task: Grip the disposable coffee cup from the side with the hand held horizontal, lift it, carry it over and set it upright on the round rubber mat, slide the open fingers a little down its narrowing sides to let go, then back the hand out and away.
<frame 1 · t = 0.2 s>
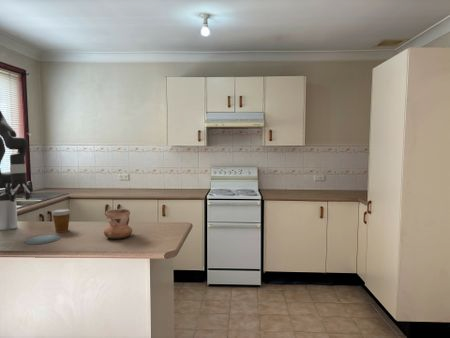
hand: (20, 200, 185), 18 cm above the table, tool pointing down, fingers open, 8 cm apart
mat: (42, 239, 169), on the table
ceramic jug: (119, 237, 175), on the table
disposable coffee cup: (62, 231, 187), on the table
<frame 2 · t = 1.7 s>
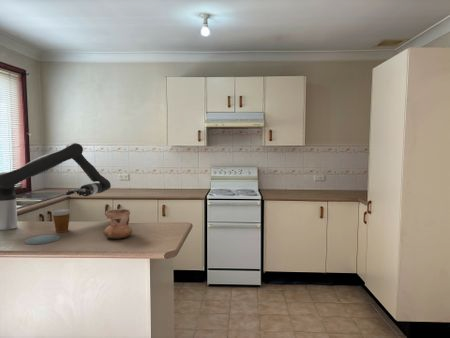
hand: (73, 193, 196), 20 cm above the table, tool horizontal, fingers open, 8 cm apart
nothing on the table moved.
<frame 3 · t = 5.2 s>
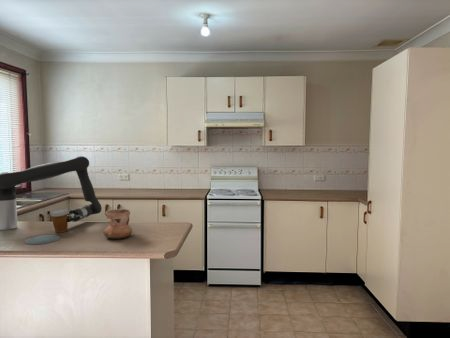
hand: (60, 220, 185), 6 cm above the table, tool horizontal, fingers closed on disposable coffee cup, 8 cm apart
disposable coffee cup: (61, 230, 186), on the table, touching gripper
everything else where it was.
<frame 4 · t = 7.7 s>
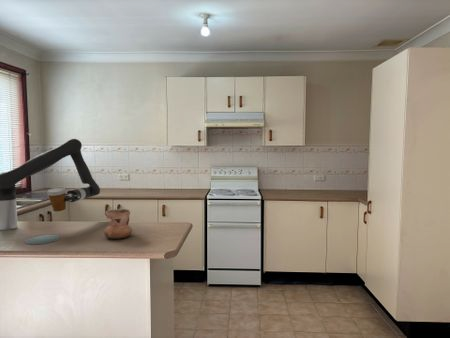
hand: (58, 199, 183), 19 cm above the table, tool horizontal, fingers closed on disposable coffee cup, 8 cm apart
disposable coffee cup: (59, 209, 185), point 12 cm above the table, touching gripper
everything else where it was.
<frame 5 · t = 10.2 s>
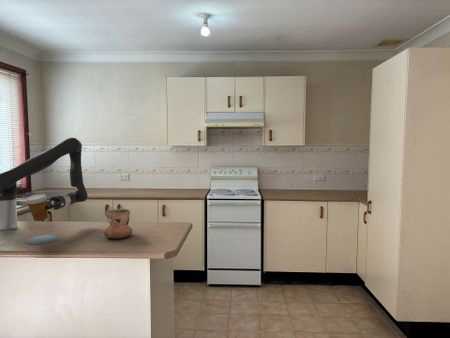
hand: (38, 207, 166), 17 cm above the table, tool horizontal, fingers closed on disposable coffee cup, 8 cm apart
disposable coffee cup: (41, 218, 168), point 11 cm above the table, touching gripper
everything else where it was.
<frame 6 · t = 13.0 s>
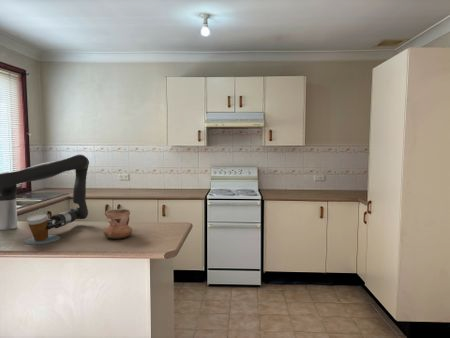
hand: (39, 227, 167), 7 cm above the table, tool horizontal, fingers closed on disposable coffee cup, 8 cm apart
disposable coffee cup: (41, 238, 169), point 1 cm above the table, touching gripper
everything else where it was.
when the fingers open (6 cm above the table, at t = 15.4 s): disposable coffee cup stays where it is, resting on mat.
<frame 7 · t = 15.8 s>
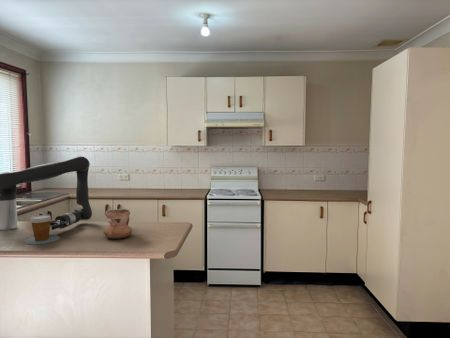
hand: (44, 227, 171), 6 cm above the table, tool horizontal, fingers open, 8 cm apart
disposable coffee cup: (41, 239, 169), resting on mat
everything else where it was.
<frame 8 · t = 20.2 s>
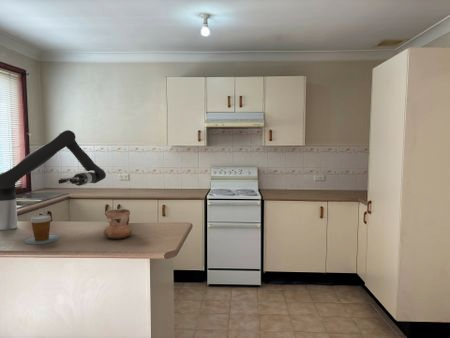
hand: (65, 181, 187), 28 cm above the table, tool horizontal, fingers open, 8 cm apart
nothing on the table moved.
at the end: disposable coffee cup inside the target area on the mat (0.5 cm from its centre), point 0.1 cm above the mat's base; disposable coffee cup tilted 0°; the gripper is holding nothing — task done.
